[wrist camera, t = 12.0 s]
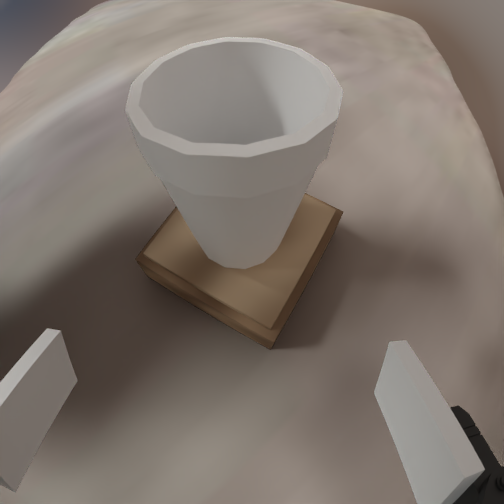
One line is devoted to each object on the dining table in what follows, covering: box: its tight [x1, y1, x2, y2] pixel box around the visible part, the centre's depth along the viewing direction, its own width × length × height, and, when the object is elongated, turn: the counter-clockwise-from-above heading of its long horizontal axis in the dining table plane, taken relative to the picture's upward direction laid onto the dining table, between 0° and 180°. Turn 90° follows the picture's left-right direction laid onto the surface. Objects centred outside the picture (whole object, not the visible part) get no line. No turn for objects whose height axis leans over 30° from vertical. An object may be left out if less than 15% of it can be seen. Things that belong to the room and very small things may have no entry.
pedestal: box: [135, 193, 343, 350], centre depth 26 cm, size 12×12×4 cm
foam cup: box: [125, 37, 343, 269], centre depth 18 cm, size 10×9×13 cm
